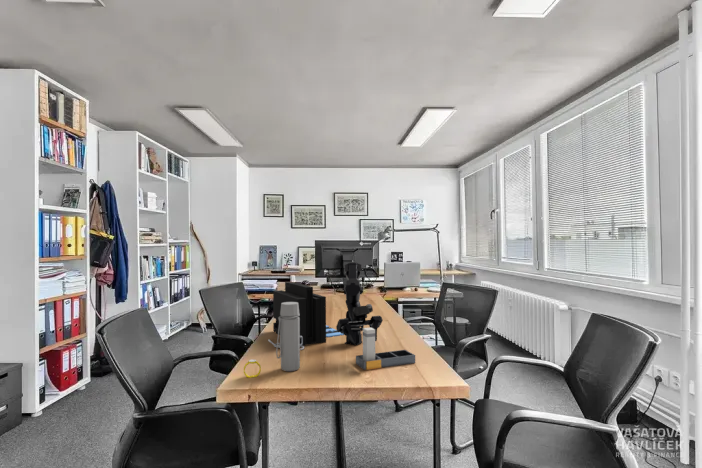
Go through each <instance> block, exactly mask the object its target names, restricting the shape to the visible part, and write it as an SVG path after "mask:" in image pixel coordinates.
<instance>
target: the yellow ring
mask: <svg viewBox="0 0 702 468" xmlns="http://www.w3.org/2000/svg"><path fill="white" fill-rule="evenodd" d="M249 364H256V365H258V366H259V370H258V372H257V373H256V374H253V375H248V374H247V373H246V371H245V370H246V367H248V365H249ZM261 369H262V368H261V364H260V363H259V361H257V359H249V360H248V362H246V363H245V364H244V365H243V374H244V376H245V377H246V378H250V379H251V378H257V377H258V376H259V375H260V374H261V372H262V370H261Z"/></svg>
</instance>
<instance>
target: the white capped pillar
mask: <svg viewBox="0 0 702 468" xmlns="http://www.w3.org/2000/svg"><path fill="white" fill-rule="evenodd" d="M375 353H376V341H375V329H373V328H371V327H364V328H363V331H362V355H363V360H364V361H370V360H375Z"/></svg>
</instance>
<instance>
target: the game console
mask: <svg viewBox="0 0 702 468" xmlns="http://www.w3.org/2000/svg"><path fill="white" fill-rule="evenodd" d="M272 293H273V294H272V300H273V302H272V306H273V307H272V309H273V312H272V314H273V319H275V322H273V325H272V328H273V331H274V332H273V331H272V332H273V333H275V332H276V333H275V334H277V335H278V329H279V336H280V328H279V319H278V317H280V316H281V315H280V311H281V303H284V302H298V305H299V314H300V316H298V317H299V318H300V336H302V337H303V344H302V345H301V346H304V347H305V346H309V345H315V344H325V343H327V338H332V337H333V336H334V337H340V335H341V336H345V335H344V334H343V333H342V334H341V332H337V329H335V328H333V327H330V326H329V325H327V301H326V300H327V299H326V298H327V297H326V296H324V295H320V294H316V293H314V287H313V286H311V285H306V284H303V283H298V282H293V281H284V290H273V291H272ZM280 318H282V317H280ZM280 327H281V322H280ZM301 343H302V341H301V338H300V344H301Z"/></svg>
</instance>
